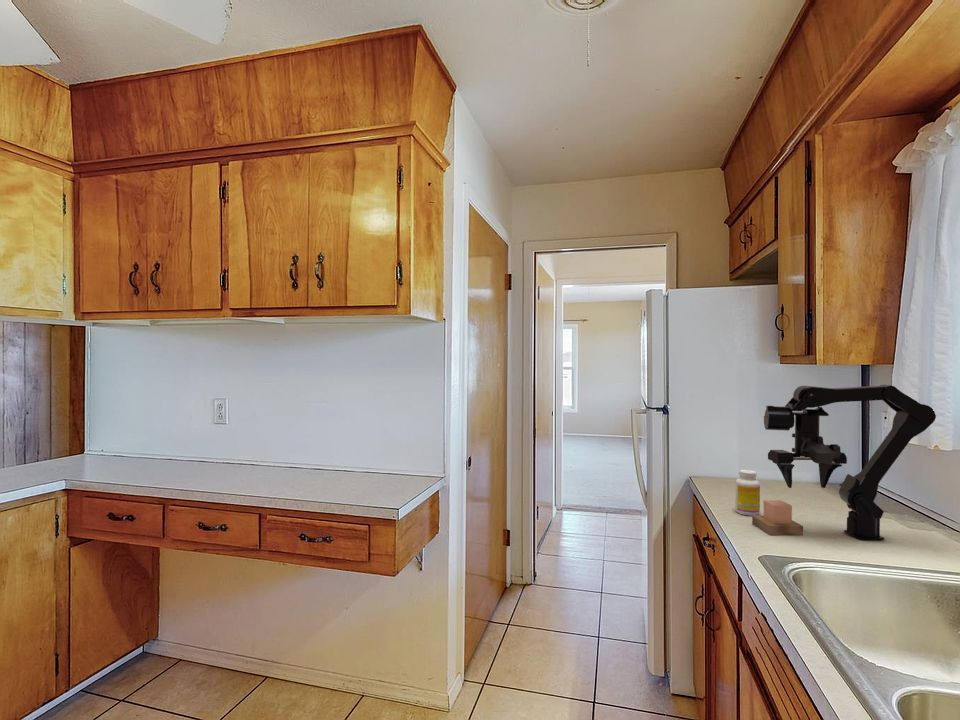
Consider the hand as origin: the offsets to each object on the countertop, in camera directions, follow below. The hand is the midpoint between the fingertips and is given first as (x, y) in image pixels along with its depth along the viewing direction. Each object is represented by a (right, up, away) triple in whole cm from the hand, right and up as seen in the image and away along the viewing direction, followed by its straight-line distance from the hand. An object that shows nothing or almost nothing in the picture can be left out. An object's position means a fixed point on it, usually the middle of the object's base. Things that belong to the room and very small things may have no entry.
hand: (806, 487), depth 143 cm
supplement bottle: (-8, -12, +16) cm, 22 cm away
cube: (-7, -10, +1) cm, 12 cm away
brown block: (-7, -12, +1) cm, 14 cm away
